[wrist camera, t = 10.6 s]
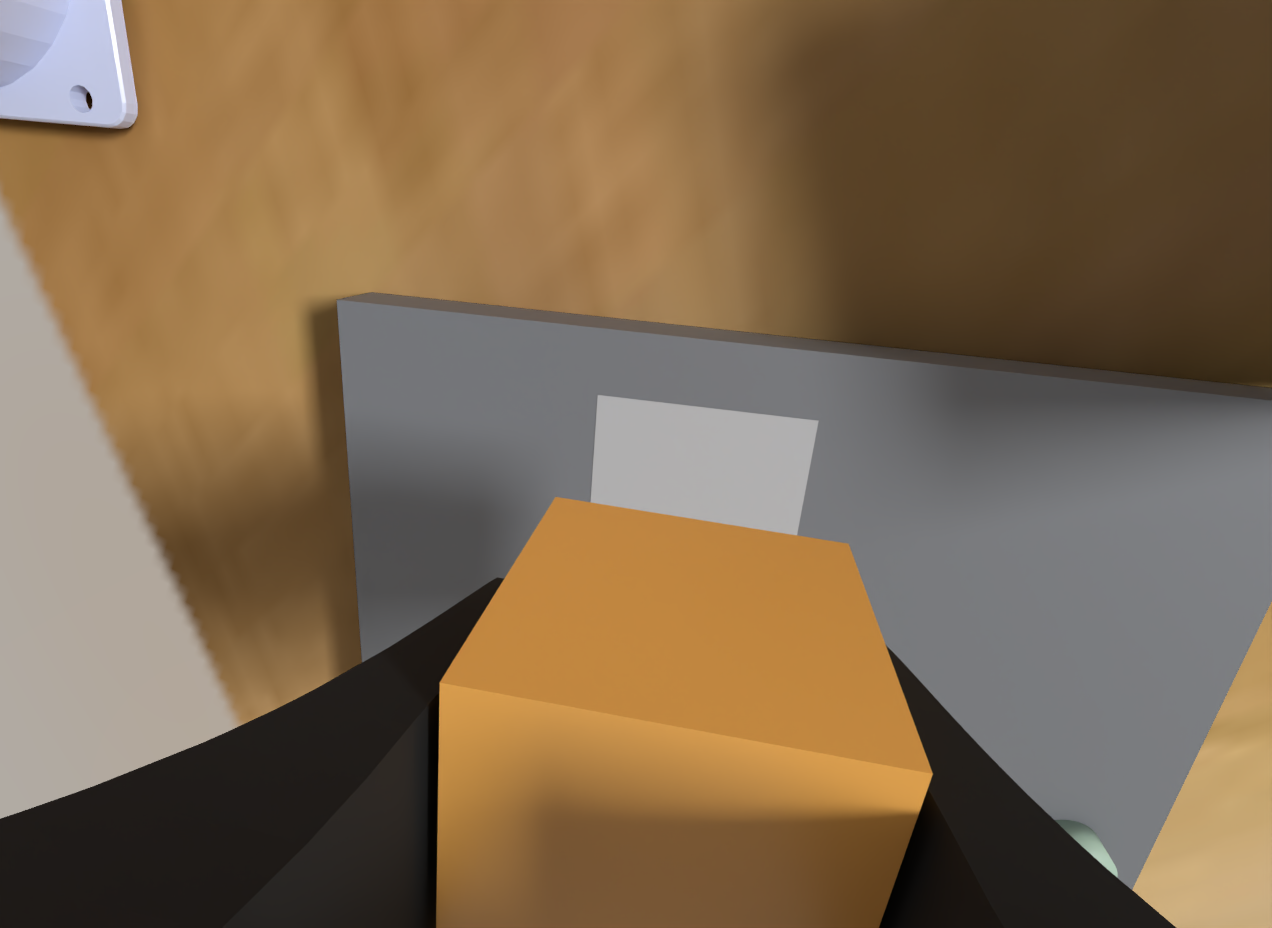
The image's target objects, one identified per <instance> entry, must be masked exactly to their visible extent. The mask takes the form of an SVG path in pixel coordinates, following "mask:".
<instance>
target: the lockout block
mask: <svg viewBox="0 0 1272 928" xmlns="http://www.w3.org/2000/svg"><path fill="white" fill-rule="evenodd" d="M932 775H933V773H932V770H931V768H930V765H929V762H928V759H927V757H926V754H925V751H924V748H923V746H922V743H921V740H920V737H919V735H918V732H917V729H916V727H915V724H914V721H913V718H912V716H911V713H910V710H909V707H908V705H907V702H906V699H905V696H904V694H903V691H902V688H901V686H900V683H899V680H898V677H897V675H896V672H895V669H894V666H893V664H892V661H891V658H890V655H889V653H888V650H887V647H886V645H885V642H884V639H883V636H882V634H881V631H880V628H879V625H878V623H877V620H876V617H875V614H874V612H873V609H872V606H871V604H870V601H869V598H868V595H867V593H866V590H865V587H864V584H863V582H862V579H861V576H860V574H859V571H858V568H857V565H856V563H855V560H854V557H853V554H852V552H851V549H850V546H849V544H847V543H841V542H835V541H829V540H822V539H816V538H810V537H804V536H797V535H791V534H785V533H779V532H772V531H766V530H760V529H754V528H747V527H741V526H735V525H729V524H722V523H716V522H710V521H704V520H697V519H691V518H685V517H679V516H672V515H666V514H660V513H654V512H647V511H641V510H635V509H629V508H622V507H616V506H610V505H604V504H597V503H591V502H585V501H579V500H572V499H566V498H560V497H555V499H554V500H553V502H552V503H551V505H550V507H549V508H548V510H547V511H546V513H545V515H544V516H543V518H542V519H541V521H540V523H539V524H538V526H537V527H536V529H535V531H534V532H533V534H532V535H531V537H530V539H529V540H528V542H527V543H526V545H525V547H524V548H523V550H522V551H521V553H520V555H519V556H518V558H517V559H516V561H515V563H514V564H513V566H512V567H511V569H510V571H509V572H508V574H507V575H506V577H505V579H504V580H503V582H502V583H501V585H500V587H499V588H498V590H497V591H496V593H495V595H494V596H493V598H492V599H491V601H490V603H489V604H488V606H487V607H486V609H485V611H484V612H483V614H482V615H481V617H480V619H479V620H478V622H477V624H476V625H475V627H474V628H473V630H472V632H471V633H470V635H469V636H468V638H467V640H466V641H465V643H464V644H463V646H462V648H461V649H460V651H459V652H458V654H457V656H456V657H455V659H454V660H453V662H452V664H451V665H450V667H449V668H448V670H447V672H446V673H445V675H444V676H443V678H442V680H441V681H440V692H439V763H438V833H437V904H436V928H879V926H880V923H881V920H882V917H883V914H884V912H885V909H886V906H887V903H888V900H889V897H890V894H891V892H892V889H893V886H894V883H895V880H896V877H897V875H898V872H899V869H900V866H901V863H902V860H903V858H904V855H905V852H906V849H907V846H908V843H909V841H910V838H911V835H912V832H913V829H914V826H915V823H916V821H917V818H918V815H919V812H920V809H921V806H922V804H923V801H924V798H925V795H926V792H927V789H928V787H929V784H930V781H931V778H932Z"/></svg>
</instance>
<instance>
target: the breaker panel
mask: <svg viewBox="0 0 1272 928" xmlns="http://www.w3.org/2000/svg"><path fill="white" fill-rule="evenodd" d="M337 311H338V326H339V340H340V354H341V369H342V383H343V398H344V412H345V426H346V441H347V455H348V469H349V484H350V498H351V513H352V527H353V541H354V556H355V570H356V584H357V599H358V613H359V627H360V642H361V656H362V662H364V661H366V660H368V659H369V658H371V657H373V656H375V655H376V654H378V653H380V652H382V651H383V650H385V649H387V648H389V647H390V646H392V645H393V644H395V643H397V642H398V641H400V640H401V639H403V638H404V637H406V636H408V635H409V634H411V633H412V632H414V631H415V630H417V629H419V628H420V627H422V626H423V625H425V624H426V623H428V622H430V621H431V620H433V619H434V618H436V617H437V616H439V615H440V614H442V613H443V612H445V611H446V610H448V609H449V608H451V607H452V606H454V605H455V604H457V603H458V602H460V601H461V600H463V599H464V598H466V597H467V596H469V595H470V594H472V593H473V592H475V591H476V590H478V589H479V588H481V587H482V586H484V585H486V584H487V583H489V582H490V581H492V580H494V579H495V578H497V577H498V578H504V579H505V577H506V575H507V574H508V572H509V571H510V569H511V567H512V566H513V564H514V563H515V561H516V559H517V558H518V556H519V555H520V553H521V551H522V550H523V548H524V547H525V545H526V543H527V542H528V540H529V539H530V537H531V535H532V534H533V532H534V531H535V529H536V527H537V526H538V524H539V523H540V521H541V519H542V518H543V516H544V515H545V513H546V511H547V510H548V508H549V507H550V505H551V503H552V502H553V500H554V499H555V497H560V498H566V499H572V500H579V501H585V502H591V503H597V504H604V505H610V506H616V507H622V508H629V509H635V510H641V511H647V512H654V513H660V514H666V515H672V516H679V517H685V518H691V519H697V520H704V521H710V522H716V523H722V524H729V525H735V526H741V527H747V528H754V529H760V530H766V531H772V532H779V533H785V534H791V535H797V536H804V537H810V538H816V539H822V540H829V541H835V542H841V543H847V544H849V546H850V549H851V552H852V554H853V557H854V560H855V563H856V565H857V568H858V571H859V574H860V576H861V579H862V582H863V584H864V587H865V590H866V593H867V595H868V598H869V601H870V604H871V606H872V609H873V612H874V614H875V617H876V620H877V623H878V625H879V628H880V631H881V634H882V636H883V639H884V642H885V645H886V646H887V647H888V648H889V649H890V650H892V651H893V652H894V654H895V655H896V656H897V657H898V658H899V659H900V660H901V661H902V662H903V663H904V664H905V665H906V666H907V667H908V668H909V670H910V671H911V672H912V673H913V674H914V675H915V676H916V677H917V678H918V679H919V681H920V682H921V683H922V684H923V685H924V686H925V687H926V688H927V689H928V690H929V692H930V693H931V694H932V695H933V696H934V697H935V698H936V699H937V700H938V701H939V702H940V704H941V705H942V706H943V707H944V708H945V709H946V710H947V711H948V712H949V713H950V715H951V716H952V717H953V718H954V719H955V720H956V721H957V722H958V723H959V724H960V725H961V726H962V727H963V729H964V730H965V731H966V732H967V733H968V734H969V735H970V736H971V737H972V738H973V739H974V740H975V741H976V742H977V743H978V744H979V745H980V747H981V748H982V749H983V750H984V751H985V752H986V753H987V754H988V755H989V756H990V757H991V758H992V759H993V760H994V761H995V762H996V763H997V764H998V765H999V766H1000V767H1001V768H1002V769H1003V770H1004V771H1005V772H1006V773H1007V774H1008V775H1009V776H1010V777H1011V778H1012V779H1013V780H1014V781H1015V782H1016V783H1017V784H1018V785H1019V786H1020V787H1021V788H1022V789H1023V790H1024V791H1025V792H1026V793H1027V794H1028V795H1029V796H1030V797H1031V798H1032V799H1033V800H1034V801H1035V802H1036V803H1037V804H1038V805H1039V806H1040V807H1041V808H1042V809H1043V810H1044V811H1045V812H1046V813H1047V814H1049V815H1050V816H1051V817H1052V818H1053V819H1054V820H1055V821H1056V822H1057V823H1058V824H1059V825H1060V826H1061V827H1062V828H1063V829H1064V830H1065V831H1066V832H1067V833H1068V834H1069V835H1070V836H1072V837H1073V838H1074V839H1075V840H1076V841H1077V842H1078V843H1079V844H1080V845H1081V846H1082V847H1083V848H1084V849H1086V850H1087V851H1088V852H1089V853H1090V854H1091V855H1092V856H1093V857H1094V858H1096V859H1097V860H1098V861H1099V862H1100V863H1101V864H1102V865H1103V866H1104V867H1106V868H1107V869H1108V870H1109V871H1110V872H1111V873H1112V874H1114V875H1115V876H1116V877H1117V878H1118V879H1119V880H1121V881H1122V882H1123V883H1124V884H1125V885H1126V886H1128V887H1129V888H1130V889H1131V890H1132V889H1133V887H1134V885H1135V883H1136V880H1137V878H1138V876H1139V874H1140V872H1141V870H1142V868H1143V866H1144V864H1145V862H1146V860H1147V858H1148V856H1149V854H1150V852H1151V849H1152V847H1153V845H1154V843H1155V841H1156V839H1157V837H1158V835H1159V833H1160V831H1161V829H1162V827H1163V825H1164V823H1165V821H1166V819H1167V816H1168V814H1169V812H1170V810H1171V808H1172V806H1173V804H1174V802H1175V800H1176V798H1177V796H1178V794H1179V792H1180V790H1181V788H1182V785H1183V783H1184V781H1185V779H1186V777H1187V775H1188V773H1189V771H1190V769H1191V767H1192V765H1193V763H1194V761H1195V759H1196V757H1197V754H1198V752H1199V750H1200V748H1201V746H1202V744H1203V742H1204V740H1205V738H1206V736H1207V734H1208V732H1209V730H1210V728H1211V726H1212V724H1213V721H1214V719H1215V717H1216V715H1217V713H1218V711H1219V709H1220V707H1221V705H1222V703H1223V701H1224V699H1225V697H1226V695H1227V693H1228V690H1229V688H1230V686H1231V684H1232V682H1233V680H1234V678H1235V676H1236V674H1237V672H1238V670H1239V668H1240V666H1241V664H1242V662H1243V659H1244V657H1245V655H1246V653H1247V651H1248V649H1249V647H1250V645H1251V643H1252V641H1253V639H1254V637H1255V635H1256V633H1257V631H1258V628H1259V626H1260V624H1261V622H1262V620H1263V618H1264V616H1265V614H1266V612H1267V610H1268V608H1269V606H1270V604H1271V602H1272V388H1266V387H1257V386H1247V385H1238V384H1229V383H1219V382H1210V381H1200V380H1191V379H1182V378H1172V377H1163V376H1153V375H1144V374H1135V373H1125V372H1116V371H1106V370H1097V369H1088V368H1078V367H1069V366H1059V365H1050V364H1041V363H1031V362H1022V361H1012V360H1003V359H994V358H984V357H975V356H965V355H956V354H947V353H937V352H928V351H918V350H909V349H900V348H890V347H881V346H871V345H862V344H853V343H843V342H834V341H824V340H815V339H806V338H796V337H787V336H777V335H768V334H759V333H749V332H740V331H730V330H721V329H712V328H702V327H693V326H683V325H674V324H665V323H655V322H646V321H636V320H627V319H618V318H608V317H599V316H589V315H580V314H571V313H561V312H552V311H542V310H533V309H524V308H514V307H505V306H495V305H486V304H477V303H467V302H458V301H448V300H439V299H430V298H420V297H411V296H401V295H392V294H383V293H373V292H371V293H366V294H361V295H357V296H352V297H347V298H342V299H338V300H337Z"/></svg>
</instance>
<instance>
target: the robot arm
mask: <svg viewBox="0 0 1272 928" xmlns="http://www.w3.org/2000/svg"><path fill="white" fill-rule="evenodd" d="M88 91H89V92H90V95H91V97H92V100H93V102H92V108H91V110H90V109H89V107H88V105H87V102H86V94H87V93H88ZM137 115H138V105H137V98H136V92H135V85H134V79H133V72H132V66H131V60H130V53H129V47H128V40H127V34H126V28H125V21H124V15H123V8H122V2H121V0H0V118H1V119H12V120H24V121H35V122H47V123H58V124H70V125H82V126H93V127H105V128H116V129H123V128H129V127H130V126H131V125H132V124H133V123H134V122H135V120H136V117H137ZM503 580H504V578H498V577H497V578H495V579H494V580H492V581H490V582H489V583H487V584H486V585H484V586H482V587H481V588H479V589H478V590H476V591H475V592H473V593H472V594H470V595H469V596H467V597H466V598H464V599H463V600H461V601H460V602H458V603H457V604H455V605H454V606H452V607H451V608H449V609H448V610H446V611H445V612H443V613H442V614H440V615H439V616H437V617H436V618H434V619H433V620H431V621H430V622H428V623H426V624H425V625H423V626H422V627H420V628H419V629H417V630H415V631H414V632H412V633H411V634H409V635H408V636H406V637H404V638H403V639H401V640H400V641H398V642H397V643H395V644H393V645H392V646H390V647H389V648H387V649H385V650H383V651H382V652H380V653H378V654H376V655H375V656H373V657H371V658H369V659H368V660H366V661H364V662H362V663H361V664H359V665H357V666H355V667H354V668H352V669H350V670H348V671H347V672H345V673H343V674H341V675H339V676H338V677H336V678H334V679H332V680H331V681H329V682H327V683H325V684H324V685H322V686H320V687H318V688H317V689H315V690H313V691H311V692H309V693H307V694H305V695H303V696H301V697H299V698H297V699H295V700H293V701H291V702H289V703H287V704H285V705H283V706H281V707H279V708H277V709H275V710H273V711H271V712H269V713H267V714H265V715H263V716H261V717H258V718H256V719H254V720H252V721H250V722H248V723H245V724H243V725H241V726H239V727H237V728H235V729H233V730H231V731H228V732H226V733H224V734H222V735H219V736H217V737H215V738H213V739H210V740H208V741H206V742H204V743H201V744H199V745H196V746H194V747H191V748H189V749H186V750H184V751H181V752H179V753H176V754H174V755H171V756H169V757H166V758H163V759H161V760H159V761H156V762H154V763H151V764H148V765H146V766H144V767H141V768H138V769H136V770H134V771H131V772H128V773H126V774H123V775H121V776H118V777H116V778H113V779H111V780H109V781H106V782H103V783H101V784H98V785H96V786H93V787H90V788H88V789H85V790H82V791H79V792H77V793H74V794H71V795H68V796H65V797H62V798H59V799H57V800H54V801H51V802H48V803H45V804H42V805H39V806H36V807H34V808H31V809H28V810H25V811H22V812H19V813H16V814H14V815H10V816H7V817H4V818H1V819H0V928H436V904H437V833H438V763H439V692H440V681H441V680H442V678H443V676H444V675H445V673H446V672H447V670H448V668H449V667H450V665H451V664H452V662H453V660H454V659H455V657H456V656H457V654H458V652H459V651H460V649H461V648H462V646H463V644H464V643H465V641H466V640H467V638H468V636H469V635H470V633H471V632H472V630H473V628H474V627H475V625H476V624H477V622H478V620H479V619H480V617H481V615H482V614H483V612H484V611H485V609H486V607H487V606H488V604H489V603H490V601H491V599H492V598H493V596H494V595H495V593H496V591H497V590H498V588H499V587H500V585H501V583H502V582H503ZM886 647H887V646H886ZM887 650H888V653H889V655H890V658H891V661H892V664H893V666H894V669H895V672H896V675H897V677H898V680H899V683H900V686H901V688H902V691H903V694H904V696H905V699H906V702H907V705H908V707H909V710H910V713H911V716H912V718H913V721H914V724H915V727H916V729H917V732H918V735H919V737H920V740H921V743H922V746H923V748H924V751H925V754H926V757H927V759H928V762H929V765H930V768H931V770H932V773H933V775H932V778H931V781H930V784H929V787H928V789H927V792H926V795H925V798H924V801H923V804H922V806H921V809H920V812H919V815H918V818H917V821H916V823H915V826H914V829H913V832H912V835H911V838H910V841H909V843H908V846H907V849H906V852H905V855H904V858H903V860H902V863H901V866H900V869H899V872H898V875H897V877H896V880H895V883H894V886H893V889H892V892H891V894H890V897H889V900H888V903H887V906H886V909H885V912H884V914H883V917H882V920H881V923H880V926H879V928H1176V927H1175V926H1173V925H1172V924H1171V923H1170V922H1169V921H1168V920H1166V919H1165V918H1164V917H1163V916H1162V915H1160V914H1159V913H1158V912H1157V911H1156V910H1155V909H1153V908H1152V907H1151V906H1150V905H1149V904H1148V903H1146V902H1145V901H1144V900H1143V899H1142V898H1141V897H1139V896H1138V895H1137V894H1136V893H1135V892H1134V891H1132V890H1131V889H1130V888H1129V887H1128V886H1126V885H1125V884H1124V883H1123V882H1122V881H1121V880H1119V879H1118V878H1117V877H1116V876H1115V875H1114V874H1112V873H1111V872H1110V871H1109V870H1108V869H1107V868H1106V867H1104V866H1103V865H1102V864H1101V863H1100V862H1099V861H1098V860H1097V859H1096V858H1094V857H1093V856H1092V855H1091V854H1090V853H1089V852H1088V851H1087V850H1086V849H1084V848H1083V847H1082V846H1081V845H1080V844H1079V843H1078V842H1077V841H1076V840H1075V839H1074V838H1073V837H1072V836H1070V835H1069V834H1068V833H1067V832H1066V831H1065V830H1064V829H1063V828H1062V827H1061V826H1060V825H1059V824H1058V823H1057V822H1056V821H1055V820H1054V819H1053V818H1052V817H1051V816H1050V815H1049V814H1047V813H1046V812H1045V811H1044V810H1043V809H1042V808H1041V807H1040V806H1039V805H1038V804H1037V803H1036V802H1035V801H1034V800H1033V799H1032V798H1031V797H1030V796H1029V795H1028V794H1027V793H1026V792H1025V791H1024V790H1023V789H1022V788H1021V787H1020V786H1019V785H1018V784H1017V783H1016V782H1015V781H1014V780H1013V779H1012V778H1011V777H1010V776H1009V775H1008V774H1007V773H1006V772H1005V771H1004V770H1003V769H1002V768H1001V767H1000V766H999V765H998V764H997V763H996V762H995V761H994V760H993V759H992V758H991V757H990V756H989V755H988V754H987V753H986V752H985V751H984V750H983V749H982V748H981V747H980V745H979V744H978V743H977V742H976V741H975V740H974V739H973V738H972V737H971V736H970V735H969V734H968V733H967V732H966V731H965V730H964V729H963V727H962V726H961V725H960V724H959V723H958V722H957V721H956V720H955V719H954V718H953V717H952V716H951V715H950V713H949V712H948V711H947V710H946V709H945V708H944V707H943V706H942V705H941V704H940V702H939V701H938V700H937V699H936V698H935V697H934V696H933V695H932V694H931V693H930V692H929V690H928V689H927V688H926V687H925V686H924V685H923V684H922V683H921V682H920V681H919V679H918V678H917V677H916V676H915V675H914V674H913V673H912V672H911V671H910V670H909V668H908V667H907V666H906V665H905V664H904V663H903V662H902V661H901V660H900V659H899V658H898V657H897V656H896V655H895V654H894V652H893V651H892V650H890V649H889V648H888V647H887Z"/></svg>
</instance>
